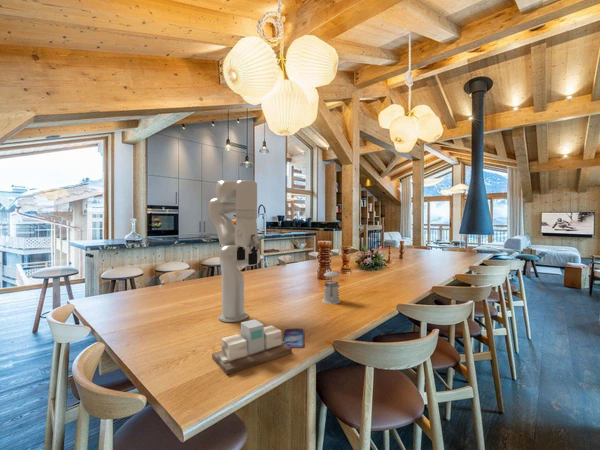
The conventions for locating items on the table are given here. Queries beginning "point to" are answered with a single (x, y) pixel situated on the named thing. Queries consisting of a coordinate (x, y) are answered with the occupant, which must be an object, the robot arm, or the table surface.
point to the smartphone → (294, 338)
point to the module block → (253, 335)
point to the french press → (331, 288)
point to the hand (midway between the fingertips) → (246, 262)
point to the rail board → (238, 357)
